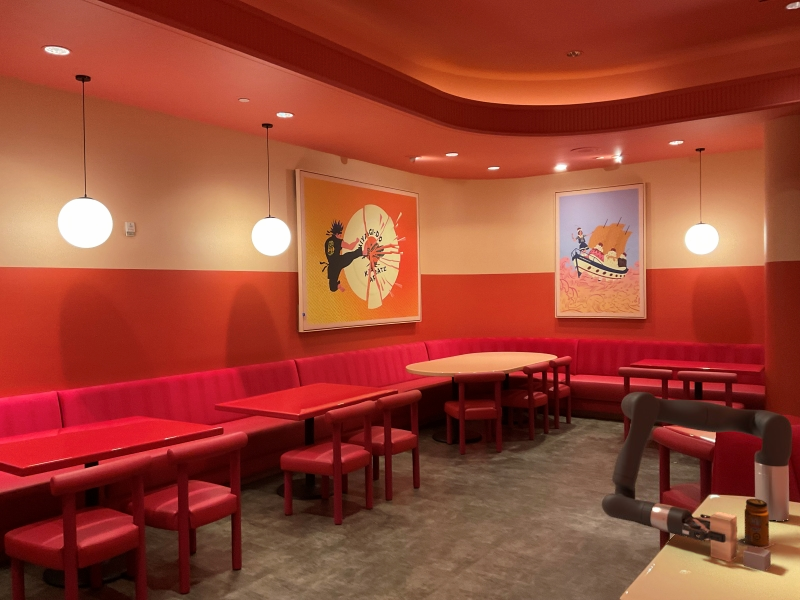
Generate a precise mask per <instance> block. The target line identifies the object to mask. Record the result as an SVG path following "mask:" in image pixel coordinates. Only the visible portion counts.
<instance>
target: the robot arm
mask: <svg viewBox="0 0 800 600" xmlns="http://www.w3.org/2000/svg"><path fill="white" fill-rule="evenodd" d="M620 408H621V410H622V413H623V414H624V416H626V417H627V418H629V420H631V421H630V427H629V431H628V435H627V437H626V439H625V441H624V442H623V445H622V447H620V449H619V452H618V455H617V457H616V460H615V464H614V469H613V473H612V478H611V481H612V483H613V484H614V493H608V494H607V495H605V496H604V497H603V499H602V501H601V508H602V511H604V513H605V514H606V515H607V516H608V517H610V518H614V519H617V520H624V521H628V522H633V523H637V524H640V525H642V526H647V527H649V528H654V529H656V530H659V531H662V532H665V533H669V534H672V535H677V536H680V537H686V538H688V539H693V540H696V541H700V542H705V540H706V541H709V540H710V541H711V540H714V541H718V542H722V543H724V542H725V541H726V536H725V534H723V533H719V532H715V531H711V528H710V516H711V515H708V514H703V513H701V514H700V516H696V517H695V516H693V515H692V513H691V510H689V509H687V508H682V507H678V506H674V505H670V504H663V503H657V502H652V501H648V500H643V499H642V500H641V499H636V484H637V481H638V475H639V471H640V466H641V463H642V460H643V459H642V458H643V455H644V451H645V449H646V446H647V443H648V441H649V438H650V436H651V432H652V430H653V428H654V425H655V424H656V422H662V423H665V424H671V425H673V426H678V427H682V428H686V429H690V430H695V431H700V432H706V433H707V432H709V433H725V432H726V433H727V432H737V433H742V434H746V435H750V436H752V437H756V438H759V439H761V450H757V451H755V453H754V492H755V493H754V499H759V500H763V501H765V502H766V503H767V512H768V513H769V520H777V521H783V520H787V519H789V520H790V489H789V488H790V486H789V483H790V479H789V460H790V458H791V456H792V449H793V446H792V445H793V444H792V443H793V429H792V427H793V426H792V423H791V421H790V420H789V419H788V417H786V416H785V415H783V414H780V413H777V412H773V411H770V410H762V409H742V408H734V407H731V406H729V405H728V406H727V405H723V404H719V403H714V402H708V401H702V400H693V399H692V400H690V399H665V398H661V397H660V398H659V397H656V396H655V395H654V394H653V393H650V392H645V391H634V392H631V393H628V394H626V396H624V397H623V399H622V401H621V404H620ZM777 521H776V522H777ZM783 522H784V521H783Z"/></svg>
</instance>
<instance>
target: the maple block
mask: <svg viewBox="0 0 800 600" xmlns="http://www.w3.org/2000/svg"><path fill="white" fill-rule="evenodd" d="M709 516H710V528H711V531H715V532H719V533H723V534H725V536H726V541H725V542H724V543H722V542H718V541H714V540H710V557H713V558H716V559H719V560H723V561H727V562H730V563H731V562H732V561H733V560H735V559H736V558H737V557H738V543H737V541H738V525H737V524H738V523H737V517H738V516H737V515H734V514H730V513H725V512H720V511H716V512H714V513H713V514H711V515H709Z"/></svg>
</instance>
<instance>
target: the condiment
mask: <svg viewBox="0 0 800 600" xmlns="http://www.w3.org/2000/svg"><path fill="white" fill-rule="evenodd" d="M769 523H770V521H769V513H768V512H767V503H766V502H765V501H763V500H759V499H755V498H748V499H746V501H745V509H744V537H743V538H740V539H737V545H741V546H744V547H745V548H748V547H749V546H753V547H757V548H761V549H765V550H766V548H770V547H772V546H774V545H776V542H771V541H770V526H769V525H770V524H769Z"/></svg>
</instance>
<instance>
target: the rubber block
mask: <svg viewBox="0 0 800 600" xmlns="http://www.w3.org/2000/svg"><path fill="white" fill-rule="evenodd" d="M742 554H743V555H742V557H743V560H742V561H743V563H742V565H743V567H746V568H750V569H753V570H756V571H760V572H764V573H765V572H766V571H767V570H768V569H769V568H770V567H771V566H772V565H771V564H772V563H771V560H772V559H771V554H772V553H771V550H768V549H766V548H765V549H761V548H757V547H753V546H749V547H746V548H745V549H744V550H743V551H742Z"/></svg>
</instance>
